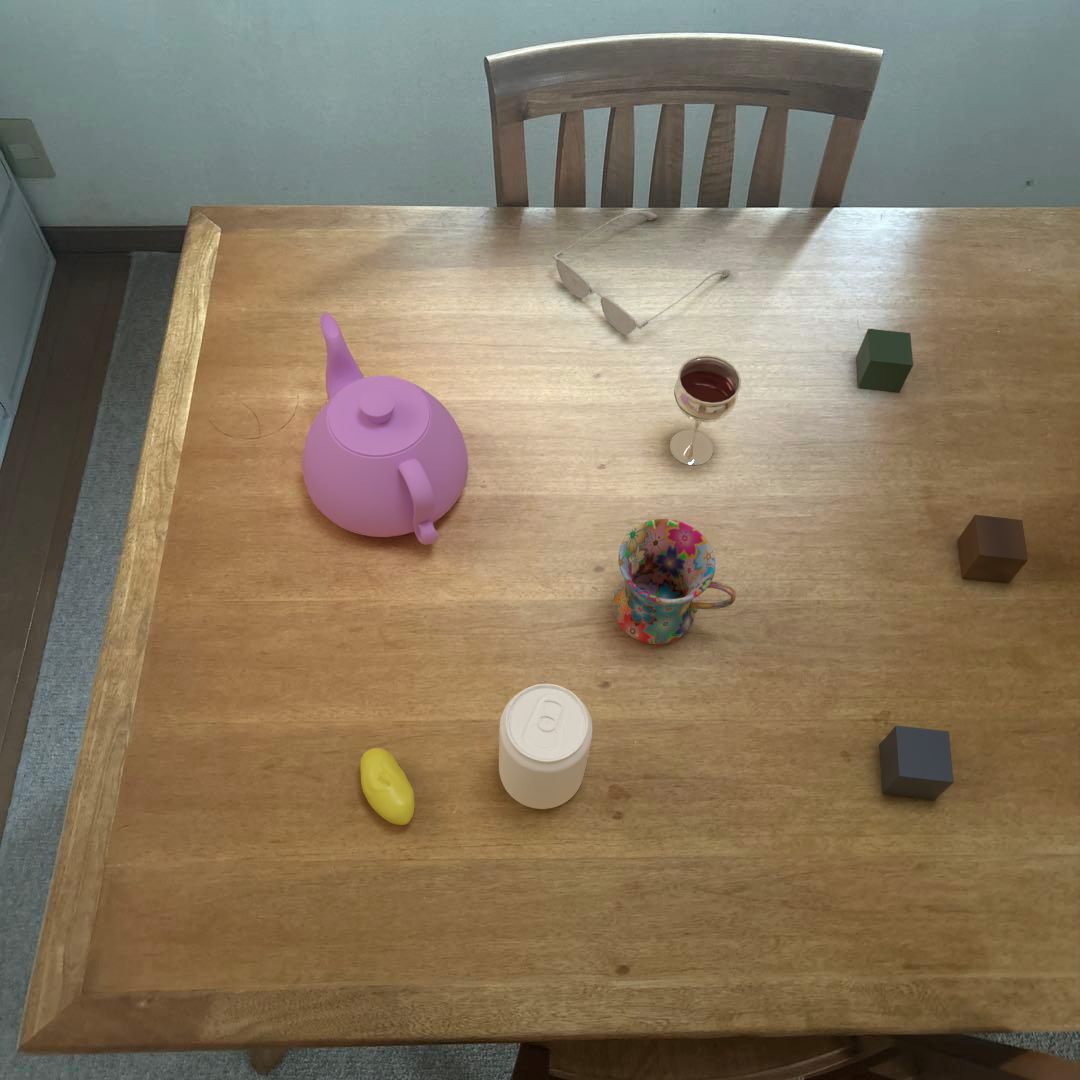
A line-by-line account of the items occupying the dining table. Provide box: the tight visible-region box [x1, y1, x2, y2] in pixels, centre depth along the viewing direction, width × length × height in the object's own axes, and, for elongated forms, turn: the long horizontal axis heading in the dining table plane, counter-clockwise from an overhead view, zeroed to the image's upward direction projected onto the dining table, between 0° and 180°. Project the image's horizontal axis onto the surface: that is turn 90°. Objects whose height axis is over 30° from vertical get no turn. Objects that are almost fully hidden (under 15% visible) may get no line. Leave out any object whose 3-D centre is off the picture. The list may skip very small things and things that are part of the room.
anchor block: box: [879, 725, 954, 801], centre depth 102 cm, size 5×5×5 cm
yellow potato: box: [359, 747, 416, 826], centre depth 99 cm, size 4×8×4 cm, turn 26°
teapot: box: [302, 312, 469, 545], centre depth 114 cm, size 25×18×14 cm
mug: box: [612, 518, 737, 645], centre depth 108 cm, size 12×9×11 cm
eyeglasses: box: [552, 210, 731, 335], centre depth 136 cm, size 15×18×4 cm
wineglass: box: [669, 354, 742, 466], centre depth 118 cm, size 7×7×12 cm
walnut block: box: [957, 514, 1029, 584], centre depth 115 cm, size 5×5×5 cm
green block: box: [855, 328, 914, 393], centre depth 128 cm, size 5×5×5 cm
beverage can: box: [498, 683, 594, 810], centre depth 98 cm, size 8×8×12 cm
